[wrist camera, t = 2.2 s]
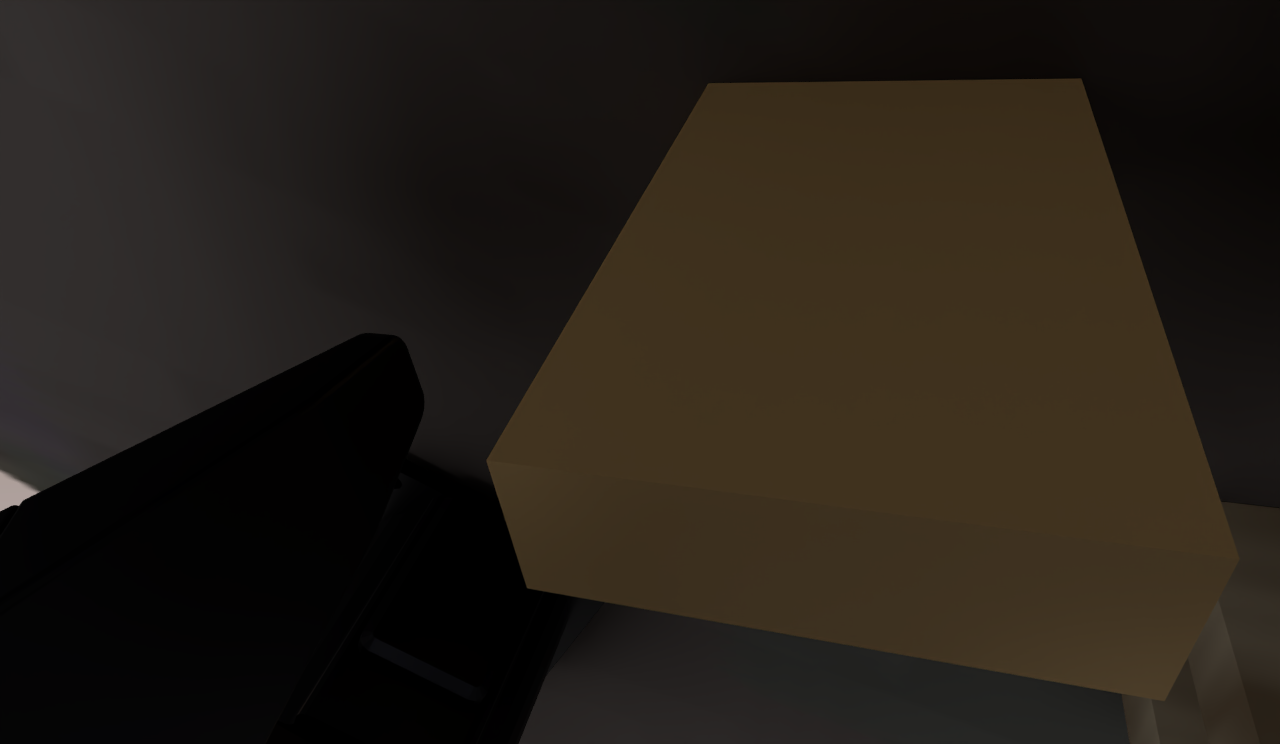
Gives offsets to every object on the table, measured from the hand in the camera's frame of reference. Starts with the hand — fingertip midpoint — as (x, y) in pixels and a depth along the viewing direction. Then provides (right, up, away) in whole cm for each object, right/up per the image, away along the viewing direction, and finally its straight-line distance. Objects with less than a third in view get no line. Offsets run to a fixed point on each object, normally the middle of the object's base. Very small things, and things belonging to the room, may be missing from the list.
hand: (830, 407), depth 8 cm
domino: (+2, +4, +4) cm, 6 cm away
